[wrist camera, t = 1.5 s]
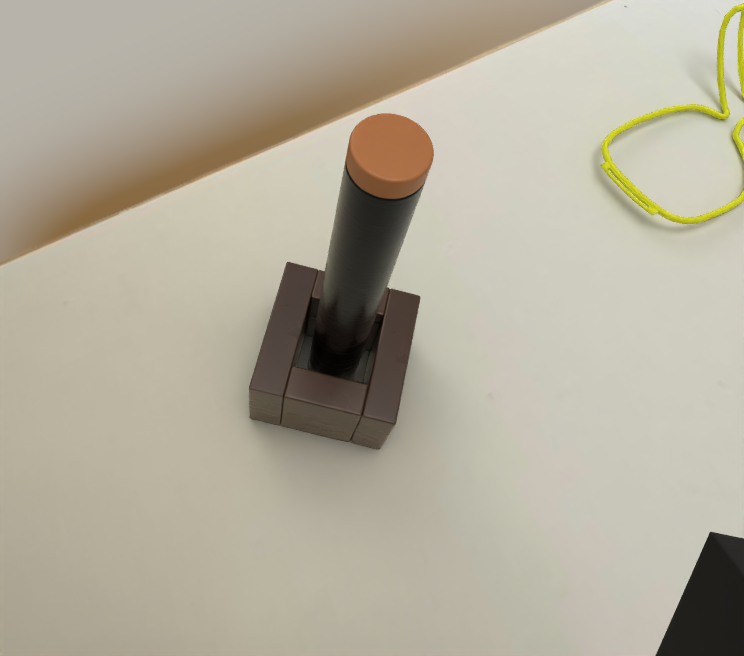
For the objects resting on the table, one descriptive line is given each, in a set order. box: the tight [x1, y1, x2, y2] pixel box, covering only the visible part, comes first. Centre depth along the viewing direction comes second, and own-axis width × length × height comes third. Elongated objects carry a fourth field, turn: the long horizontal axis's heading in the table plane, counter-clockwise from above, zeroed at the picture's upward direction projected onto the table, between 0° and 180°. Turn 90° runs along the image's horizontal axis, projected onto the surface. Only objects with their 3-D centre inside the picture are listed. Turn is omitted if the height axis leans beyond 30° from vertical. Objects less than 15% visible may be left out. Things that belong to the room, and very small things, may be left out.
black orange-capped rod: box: [308, 114, 434, 381], centre depth 25 cm, size 2×2×16 cm
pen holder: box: [249, 262, 420, 449], centre depth 31 cm, size 6×6×4 cm
